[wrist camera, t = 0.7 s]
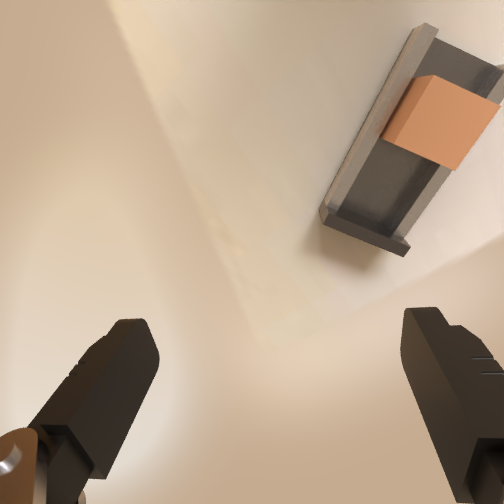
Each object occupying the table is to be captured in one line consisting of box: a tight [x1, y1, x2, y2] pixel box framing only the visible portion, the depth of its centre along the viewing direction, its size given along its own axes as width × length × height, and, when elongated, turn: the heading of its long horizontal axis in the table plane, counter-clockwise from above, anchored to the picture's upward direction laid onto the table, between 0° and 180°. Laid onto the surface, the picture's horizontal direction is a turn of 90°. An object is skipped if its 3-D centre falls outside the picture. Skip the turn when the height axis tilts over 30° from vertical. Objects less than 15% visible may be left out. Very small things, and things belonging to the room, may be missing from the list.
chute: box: [319, 23, 504, 257], centre depth 27 cm, size 17×9×4 cm, turn 159°
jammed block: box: [379, 75, 501, 171], centre depth 25 cm, size 5×6×5 cm
